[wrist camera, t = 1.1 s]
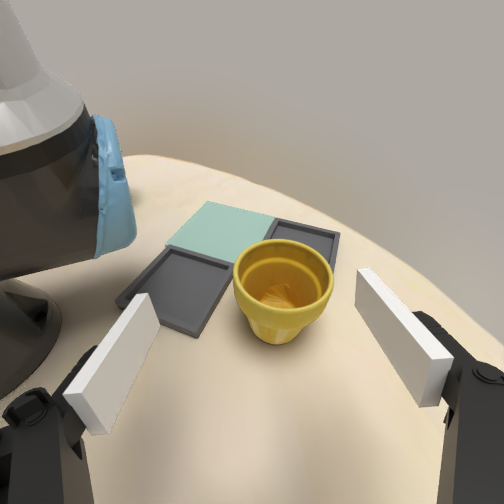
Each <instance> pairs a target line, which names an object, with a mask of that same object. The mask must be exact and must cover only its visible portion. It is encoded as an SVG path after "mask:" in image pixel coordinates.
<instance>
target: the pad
mask: <svg viewBox="0 0 504 504" xmlns="http://www.w3.org/2000/svg"><path fill="white" fill-rule="evenodd" d="M274 220H275V217H273V216H269V215H265V214H260V213H256V212H252V211H248V210H243V209H239V208H235V207H231V206H227V205H222V204H218V203H214V202H210V201H207V202H206V203H205V204H204V205H203V206H202V207H201V208H200V209H199V210H198V211H197V212H196V213H195V214H194V215H193V216H192V217H191V218H190V219H189V220H188V221H187V222H186V223H185V224H184V225H183V226H182V228H181V229H180V230H179V231H178V232H177V233H176V234H175V235H174V236H173V237H172V238H171V239H170V240H169V241H168V242H167V243H166V244H165V246H166V247H167V246H168V245H169V244H171V245H174V246H177V247H181V248H184V249H188V250H191V251H194V252H198V253H201V254H204V255H208V256H211V257H214V258H218V259H221V260H224V261H228V262H231V263H234V264H235V261H236V259H237V257H238V256H239V255H240V253H241V252H242V251H243V250H245V249H246V248H247V247H249V246H250V245H252V244H254V243H257V242H260V241H263V240H264V238H265V236H266V235H267V233H268V231H269V229H270V227H271V225H272V223H273V221H274Z"/></svg>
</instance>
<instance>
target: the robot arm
mask: <svg viewBox="0 0 504 504" xmlns="http://www.w3.org/2000/svg"><path fill="white" fill-rule="evenodd" d="M136 235H137V227H136V221H135V215H134V210H133V205H132V200H131V196H130V191H129V187H128V182H127V179H126V175H125V169H124V165H123V159H122V155H121V150H120V146H119V142H118V138H117V134H116V130H115V126H114V124H113V122H112V120H111V119H109V118H107V117H101V116H99V115H96V114H94V115H92V117H90V116H89V114H88V111H87V109H86V107H85V104H84V102H83V99H82V97H81V95H80V93H79V92H78V91H77V89H76V88H75V87H74V86H72V85H71V84H69V83H68V82H66V81H64V80H63V79H62V78H60V77H58V76H57V75H55V74H54V73H52V72H51V71H49V70H48V69H46V68H44V67H43V66H42V65H41V64H40V62H39V61H38V60H37V59H36V56H35V54H34V52H33V50H32V48H31V46H30V44H29V42H28V40H27V38H26V36H25V34H24V32H23V30H22V28H21V26H20V24H19V22H18V20H17V18H16V16H15V14H14V12H13V10H12V8H11V6H10V4H9V2H8V0H0V399H1V398H2V397H3V396H5V395H6V394H8V393H9V392H10V391H12V390H13V389H14V388H16V387H17V386H18V385H19V384H20V383H22V382H23V381H24V380H25V379H26V378H27V377H28V376H29V375H30V374H31V373H32V372H33V371H34V370H35V369H36V368H37V367H38V366H39V365H40V364H41V362H42V361H43V360H44V359H45V357H46V356H47V355H48V353H49V352H50V350H51V349H52V347H53V345H54V343H55V341H56V339H57V337H58V334H59V331H60V327H61V313H60V310H59V308H58V306H57V305H56V304H55V303H54V302H53V301H52V300H51V299H50V298H49V296H48V295H47V294H45V293H44V292H43V291H41V290H39V289H37V288H35V287H33V286H30V285H28V284H26V283H23V282H21V281H19V280H16V279H14V278H16V277H20V276H24V275H28V274H32V273H36V272H40V271H44V270H49V269H53V268H57V267H61V266H65V265H69V264H73V263H77V262H81V261H85V260H89V259H96V258H99V257H100V256H101V255H104V254H107V253H110V252H113V251H116V250H119V249H122V248H125V247H127V246H129V245H130V244H131V243H132V242H133V241H134V240H135V238H136ZM355 307H356V308H357V310H358V312H359V313H360V315H361V316H362V318H363V320H364V321H365V323H366V324H367V326H368V327H369V329H370V331H371V332H372V334H373V335H374V337H375V339H376V340H377V342H378V343H379V345H380V346H381V348H382V350H383V351H384V353H385V354H386V356H387V357H388V359H389V361H390V362H391V364H392V365H393V367H394V369H395V370H396V372H397V373H398V375H399V376H400V378H401V380H402V381H403V383H404V384H405V386H406V388H407V389H408V391H409V392H410V394H411V395H412V397H413V399H414V400H415V402H416V403H417V405H418V406H419V408H420V407H432V406H439V403H440V400H441V397H443V399H444V400H445V401H446V403H447V404H448V405H449V407H448V410H447V413H446V416H445V419H444V422H443V423H445V424H446V427H445V435H444V444H443V453H442V462H441V470H440V479H439V488H438V496H437V504H504V372H502V371H501V370H499V369H498V368H496V367H494V366H492V365H490V364H487V363H484V362H480V361H477V360H476V359H475V358H474V357H473V356H472V355H471V354H470V353H468V352H467V351H466V350H465V349H464V348H463V347H462V346H461V345H460V344H459V343H458V342H457V341H456V340H455V339H454V338H453V337H452V336H451V335H450V334H448V332H447V331H446V330H445V329H444V328H442V327H441V325H440V324H439V323H438V322H437V321H436V320H435V319H434V318H432V317H431V316H429V315H427V314H425V313H424V312H422V311H417V312H411V311H410V310H409V309H408V308H407V307H406V306H405V305H404V304H403V303H402V302H401V300H400V299H399V298H398V297H397V296H396V295H395V294H394V293H393V292H392V291H391V290H390V289H389V288H388V287H387V286H386V284H385V283H384V282H383V281H382V280H381V279H380V278H379V277H378V276H377V275H376V274H375V273H374V272H373V271H372V270H371V268H363V269H357V278H356V293H355ZM159 328H160V323H159V321H158V318H157V315H156V313H155V310H154V307H153V305H152V302H151V299H150V297H149V294H148V293H143V294H136V295H135V297H134V298H133V299H132V301H131V302H130V304H129V305H128V306H127V308H126V309H125V310H124V312H123V313H122V314H121V316H120V317H119V318H118V320H117V321H116V323H115V324H114V325H113V327H112V328H111V329H110V331H109V332H108V333H107V335H106V336H105V337H104V339H103V340H102V342H101V343H100V344H99V345H96V346H93V347H92V348H91V349H90V350H88V351H87V352H86V353H85V354H84V355H83V356H82V357H81V359H80V360H79V361H78V363H77V365H75V366H74V368H73V369H72V370H71V373H69V374H68V375H67V377H66V378H65V379H64V381H63V382H62V383H61V385H60V386H59V387H58V388H57V390H56V391H55V392H54V394H53V395H52V396H50V395H49V393H48V392H47V391H46V389H45V388H41V387H39V388H34V389H31V390H29V391H27V392H25V393H23V394H22V395H20V396H19V397H17V398H16V399H15V400H14V401H12V402H11V403H10V404H9V405H8V407H7V408H6V409H5V410H4V413H3V415H2V417H3V418H4V420H5V421H6V422H7V423H8V424H9V426H6V427H3V428H1V429H0V504H94V499H93V493H92V487H91V481H90V475H89V469H88V464H87V458H86V452H85V446H84V441H83V439H82V438H81V435H82V434H83V432H84V430H85V428H87V430H88V431H89V433H90V434H91V435H92V436H93V435H104V434H109V432H110V430H111V428H112V426H113V424H114V422H115V420H116V418H117V416H118V414H119V412H120V409H121V407H122V405H123V403H124V401H125V399H126V397H127V395H128V393H129V391H130V389H131V387H132V384H133V382H134V380H135V378H136V376H137V374H138V372H139V370H140V368H141V366H142V364H143V362H144V360H145V357H146V355H147V353H148V351H149V349H150V347H151V345H152V343H153V341H154V339H155V337H156V335H157V332H158V330H159Z"/></svg>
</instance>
